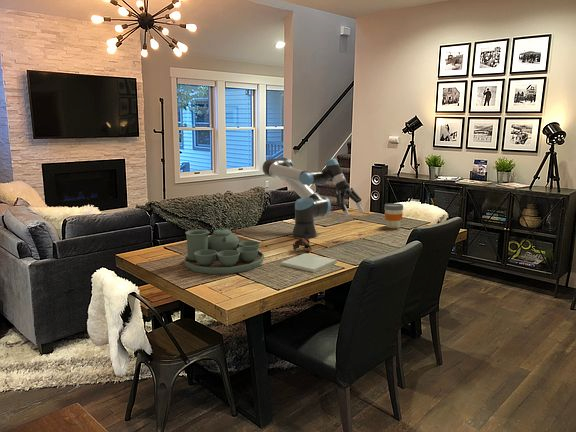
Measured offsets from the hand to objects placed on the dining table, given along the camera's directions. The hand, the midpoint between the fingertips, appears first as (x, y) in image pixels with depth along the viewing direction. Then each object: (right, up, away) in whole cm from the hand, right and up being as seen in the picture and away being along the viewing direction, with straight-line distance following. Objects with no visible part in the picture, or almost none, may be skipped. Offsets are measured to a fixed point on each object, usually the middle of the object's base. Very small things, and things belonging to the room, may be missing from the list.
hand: (355, 214), depth 276 cm
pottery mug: (-32, -21, -21) cm, 43 cm away
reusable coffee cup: (+31, -9, +38) cm, 50 cm away
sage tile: (-29, -25, -45) cm, 59 cm away
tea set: (-72, -25, -40) cm, 86 cm away
